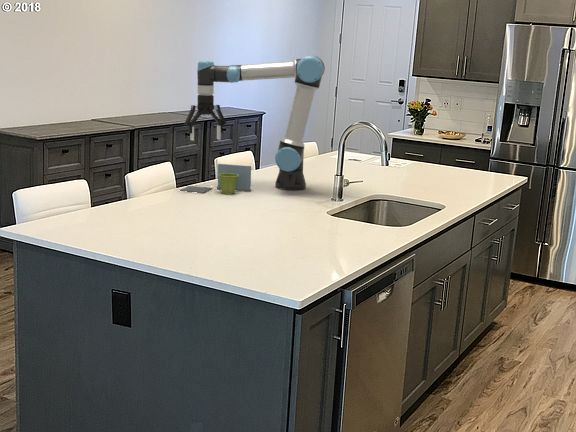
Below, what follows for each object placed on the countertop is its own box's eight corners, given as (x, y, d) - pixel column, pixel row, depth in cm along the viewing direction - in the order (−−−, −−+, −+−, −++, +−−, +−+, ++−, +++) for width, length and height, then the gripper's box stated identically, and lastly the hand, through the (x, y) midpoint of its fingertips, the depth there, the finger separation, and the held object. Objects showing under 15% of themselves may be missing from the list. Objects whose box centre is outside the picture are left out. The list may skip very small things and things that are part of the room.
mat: (212, 189, 367) (212, 188, 367) (203, 193, 356) (203, 192, 355) (188, 187, 370) (188, 186, 370) (179, 191, 358) (179, 190, 358)
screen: (251, 190, 366) (251, 165, 364) (249, 191, 363) (249, 166, 361) (219, 188, 370) (219, 163, 368) (217, 189, 367) (217, 164, 365)
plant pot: (239, 191, 363) (240, 173, 361) (236, 195, 354) (236, 176, 352) (220, 190, 364) (220, 172, 362) (216, 194, 355) (216, 175, 353)
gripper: (226, 93, 370) (226, 138, 374) (177, 94, 358) (177, 139, 362) (233, 94, 363) (232, 139, 368) (183, 95, 351) (183, 141, 356)
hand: (205, 139), depth 365 cm, fingers open, 13 cm apart
